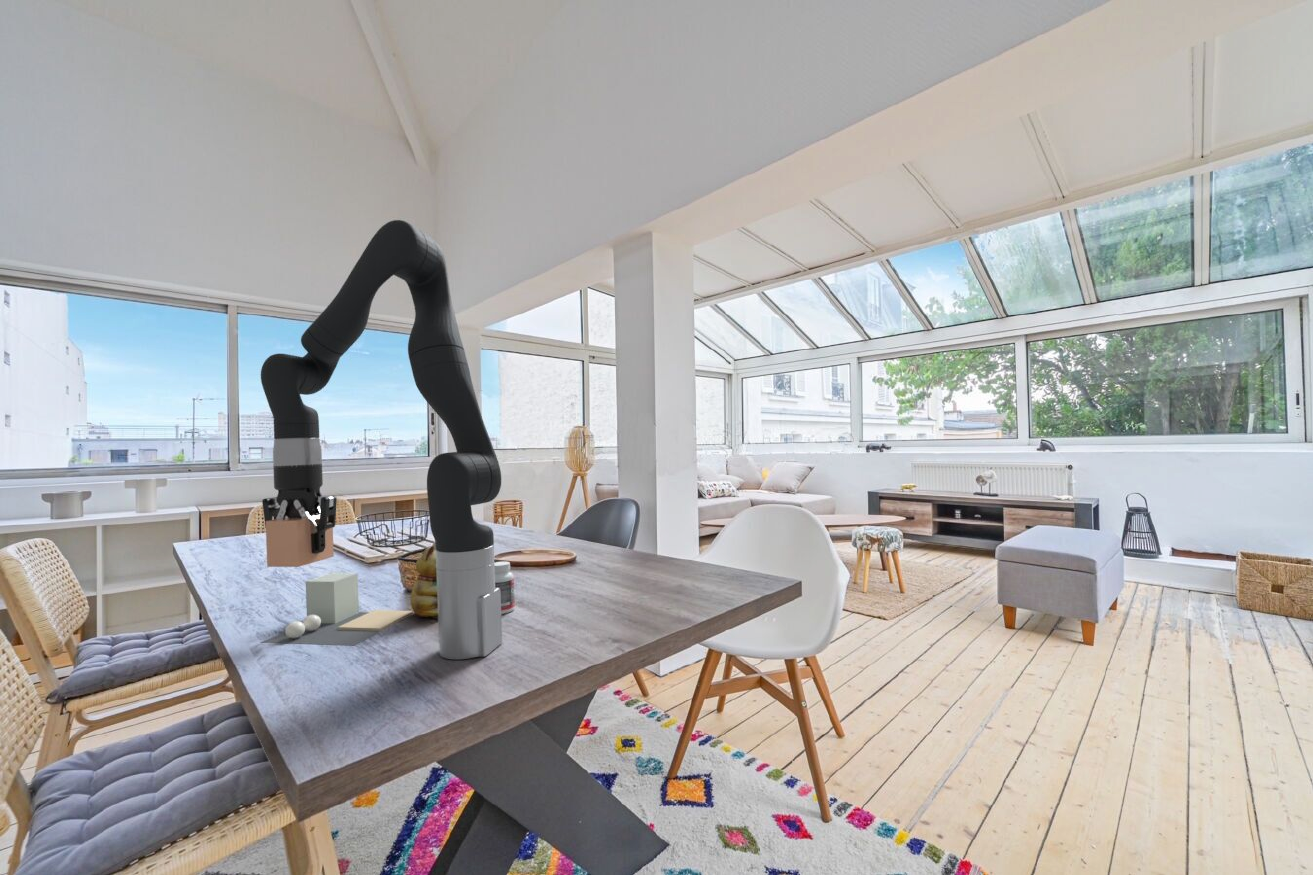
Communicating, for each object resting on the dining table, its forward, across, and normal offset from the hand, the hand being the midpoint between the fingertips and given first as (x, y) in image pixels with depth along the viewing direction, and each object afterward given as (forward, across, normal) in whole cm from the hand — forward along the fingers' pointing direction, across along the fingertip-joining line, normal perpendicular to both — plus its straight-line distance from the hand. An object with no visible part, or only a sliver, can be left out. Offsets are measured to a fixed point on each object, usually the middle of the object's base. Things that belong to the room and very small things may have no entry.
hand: (301, 552), depth 99 cm
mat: (+16, -4, -4) cm, 17 cm away
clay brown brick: (+2, 0, 0) cm, 2 cm away
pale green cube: (+15, +2, -9) cm, 18 cm away
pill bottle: (+16, -31, -17) cm, 39 cm away
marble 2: (+15, 0, -2) cm, 15 cm away
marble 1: (+15, 0, +2) cm, 15 cm away
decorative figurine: (+16, -18, -13) cm, 27 cm away
